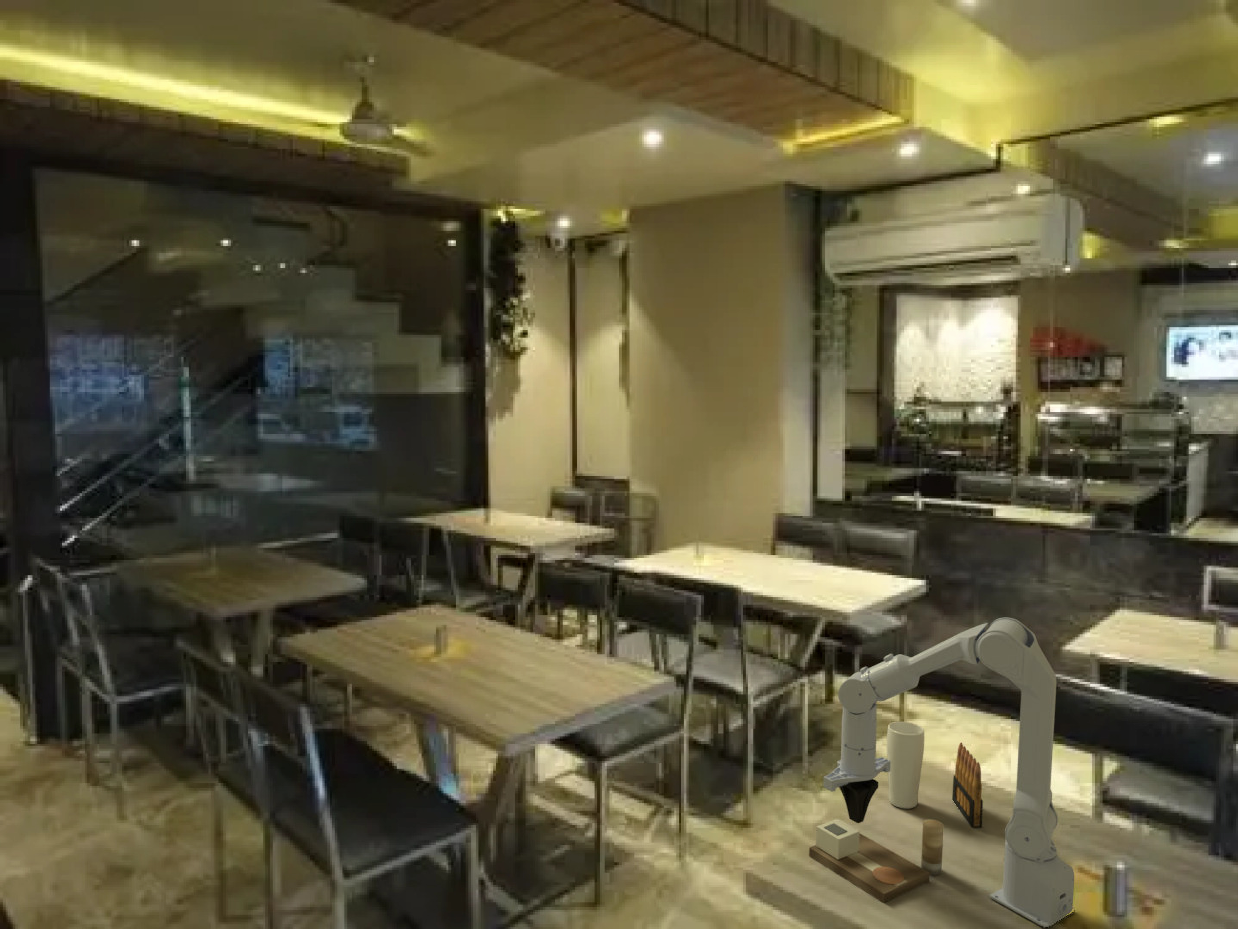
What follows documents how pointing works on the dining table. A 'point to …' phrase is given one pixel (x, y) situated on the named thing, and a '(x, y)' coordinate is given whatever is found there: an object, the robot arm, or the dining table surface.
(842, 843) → the block
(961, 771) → the ammunition clip
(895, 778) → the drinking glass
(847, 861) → the board
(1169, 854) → the dining table surface
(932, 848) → the brown upright cylinder
